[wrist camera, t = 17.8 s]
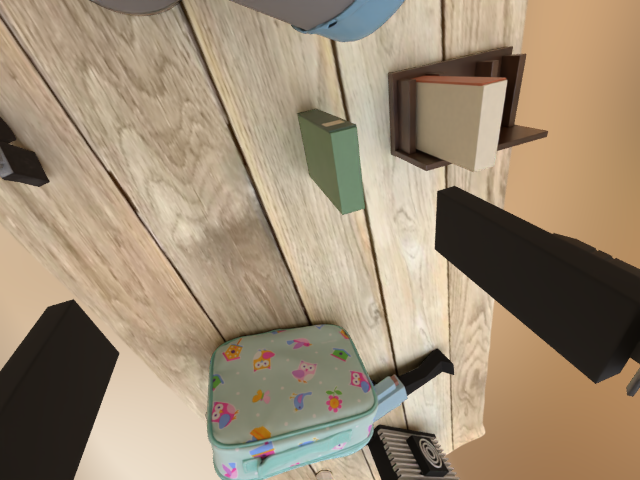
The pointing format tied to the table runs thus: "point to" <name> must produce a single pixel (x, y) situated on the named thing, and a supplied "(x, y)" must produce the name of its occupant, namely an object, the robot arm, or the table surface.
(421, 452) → the electronic device
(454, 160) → the cream book
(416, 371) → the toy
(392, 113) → the book rack
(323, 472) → the eye dropper bottle
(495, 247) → the robot arm
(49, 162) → the table surface
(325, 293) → the table surface
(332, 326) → the lunch box
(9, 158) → the black narrow holder
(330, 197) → the green book
